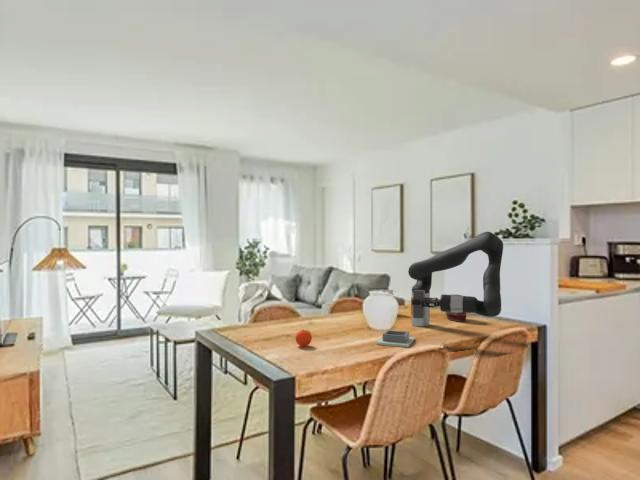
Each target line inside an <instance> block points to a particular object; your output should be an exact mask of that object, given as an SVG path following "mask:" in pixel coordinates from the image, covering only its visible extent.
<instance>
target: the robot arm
mask: <svg viewBox="0 0 640 480" xmlns="http://www.w3.org/2000/svg"><path fill="white" fill-rule="evenodd" d="M478 251H481V252H483V253H484V254H486V255H487V258H488V265H487V268H486V269H485V270H484V273H483V276H482V287H483V290H482V291H483V300H479V299H478V298H477V297H475V296H468V295H462V296H459V295H460V294H443V293H442V294H441V295H440V298H438V297H430V296H431V295H430V293H431V288H432V282H433V280H432V279H433V273H435V272H442V271H446V270H449V269H454V268H455V267H458V266H461V265H462V264H463V263H464V262H465V261H466V260H467V259H468V257H469V255H471V254H473V253H475V252H478ZM503 253H504V242H503V241H502V239H501V238H500V237H499V236H498V235H496V234H494V233H493V232H490V231H483V232H481V233H479V234H478V235H477V234H476V236H474V237H472V238H470V239H468V240H467V241H465V242H462V243H461V244H458V245H455V246H453V247H451V248H449V249H445V250H444V251H441V252H440V253H437V254H435V255H434V256H431V257H429V258H427V259H424V260H421V261H417V262H413V263H411V265H410V266H409V267H408V270H407V271H408V275H409V277H410V278H411V279H413V280H415V281H416V283H415V284H414V285H413V286H412V287H411V297H413V291H414V290H425V300H412V305H420V306H422V307H425V317H424V318H413V315H411V325H412V326H415V327H429V326H430V316H431V315H430V314H431V313H430V309H437V307H439V308H440V309H439V310H440V311H441V312H444V313H446V312H456V313H459V312H465V313H466V314H467V313H468V314H469V313H470V314H476V315H479V316H484V317H487V318H488V317H489V318H491V317H492V318H493V317H494V318H495V317H497V316H499V315H500V314H501V311H502V294H501V266H502V260H503V259H502V258H503ZM424 302H425V304H424Z"/></svg>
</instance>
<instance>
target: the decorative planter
mask: <svg viewBox="0 0 640 480" xmlns="http://www.w3.org/2000/svg"><path fill="white" fill-rule="evenodd" d="M458 295H459V296H463V295H462V294H458ZM445 315H446V319H448V320H449V321H456V322H460V321H461V322H463V321H466V319H467V313H465V312H459V313H456V312H445Z"/></svg>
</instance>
